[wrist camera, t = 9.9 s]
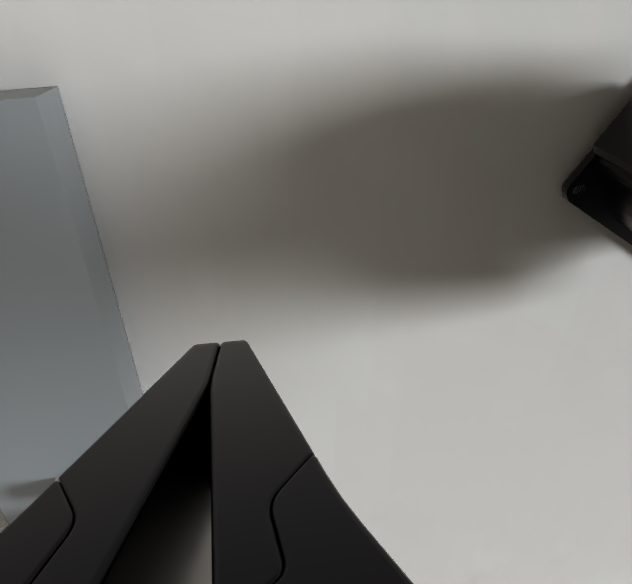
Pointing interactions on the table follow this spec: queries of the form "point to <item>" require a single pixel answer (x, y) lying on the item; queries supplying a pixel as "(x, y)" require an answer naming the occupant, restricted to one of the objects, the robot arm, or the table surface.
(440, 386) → the table surface
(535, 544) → the table surface
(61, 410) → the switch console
